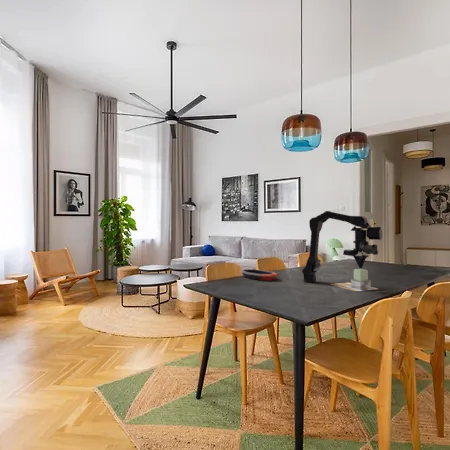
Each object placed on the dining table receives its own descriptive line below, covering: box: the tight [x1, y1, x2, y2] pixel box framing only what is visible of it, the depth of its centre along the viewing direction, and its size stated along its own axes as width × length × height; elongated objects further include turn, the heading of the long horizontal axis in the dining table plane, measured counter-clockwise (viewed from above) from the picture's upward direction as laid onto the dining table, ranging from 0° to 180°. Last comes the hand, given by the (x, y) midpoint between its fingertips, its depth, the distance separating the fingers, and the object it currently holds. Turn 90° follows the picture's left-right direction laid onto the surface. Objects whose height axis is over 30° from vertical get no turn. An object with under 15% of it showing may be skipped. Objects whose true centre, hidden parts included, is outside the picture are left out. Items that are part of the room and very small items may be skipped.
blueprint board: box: [330, 278, 378, 294], centre depth 176 cm, size 16×20×6 cm
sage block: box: [353, 268, 369, 281], centre depth 171 cm, size 5×5×6 cm
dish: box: [240, 268, 279, 281], centre depth 210 cm, size 16×31×5 cm, turn 38°
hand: (360, 268), depth 171 cm, fingers closed
